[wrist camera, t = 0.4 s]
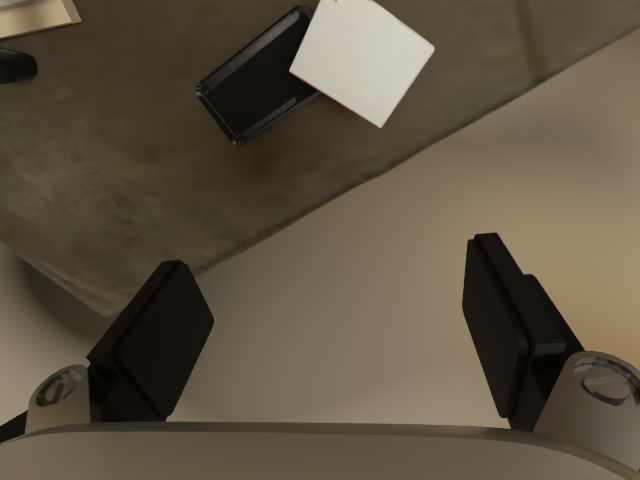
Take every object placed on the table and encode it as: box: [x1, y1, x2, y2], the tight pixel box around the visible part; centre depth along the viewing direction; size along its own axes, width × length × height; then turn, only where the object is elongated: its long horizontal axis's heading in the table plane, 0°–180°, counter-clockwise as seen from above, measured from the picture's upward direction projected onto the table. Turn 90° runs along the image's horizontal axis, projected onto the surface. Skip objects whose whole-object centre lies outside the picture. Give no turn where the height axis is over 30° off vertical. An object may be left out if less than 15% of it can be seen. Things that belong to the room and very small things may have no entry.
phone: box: [196, 5, 322, 146], centre depth 36 cm, size 8×1×15 cm
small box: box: [289, 0, 435, 128], centre depth 28 cm, size 8×6×13 cm
